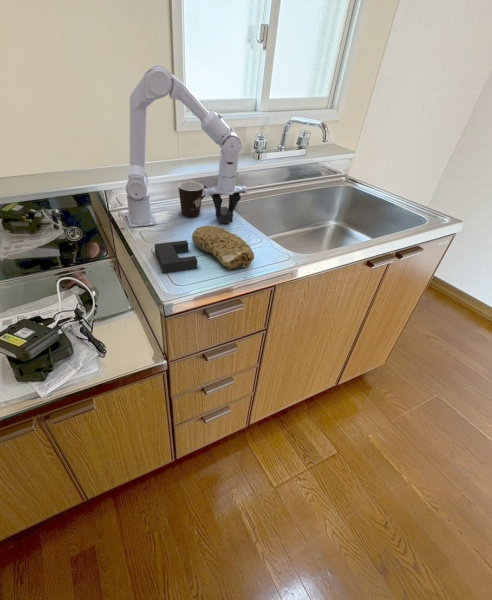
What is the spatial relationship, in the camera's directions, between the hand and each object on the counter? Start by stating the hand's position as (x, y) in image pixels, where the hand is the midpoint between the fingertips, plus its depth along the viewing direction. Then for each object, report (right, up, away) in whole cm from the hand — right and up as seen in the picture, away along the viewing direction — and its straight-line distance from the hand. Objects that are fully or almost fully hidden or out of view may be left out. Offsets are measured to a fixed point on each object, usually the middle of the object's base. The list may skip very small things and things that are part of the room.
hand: (223, 214), depth 110 cm
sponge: (-2, -16, -16) cm, 23 cm away
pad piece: (0, -1, +1) cm, 1 cm away
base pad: (-15, -18, -20) cm, 31 cm away
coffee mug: (-10, +2, +5) cm, 12 cm away
